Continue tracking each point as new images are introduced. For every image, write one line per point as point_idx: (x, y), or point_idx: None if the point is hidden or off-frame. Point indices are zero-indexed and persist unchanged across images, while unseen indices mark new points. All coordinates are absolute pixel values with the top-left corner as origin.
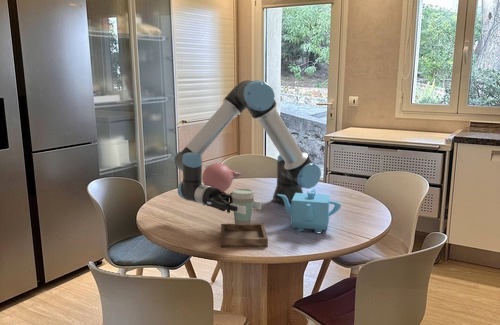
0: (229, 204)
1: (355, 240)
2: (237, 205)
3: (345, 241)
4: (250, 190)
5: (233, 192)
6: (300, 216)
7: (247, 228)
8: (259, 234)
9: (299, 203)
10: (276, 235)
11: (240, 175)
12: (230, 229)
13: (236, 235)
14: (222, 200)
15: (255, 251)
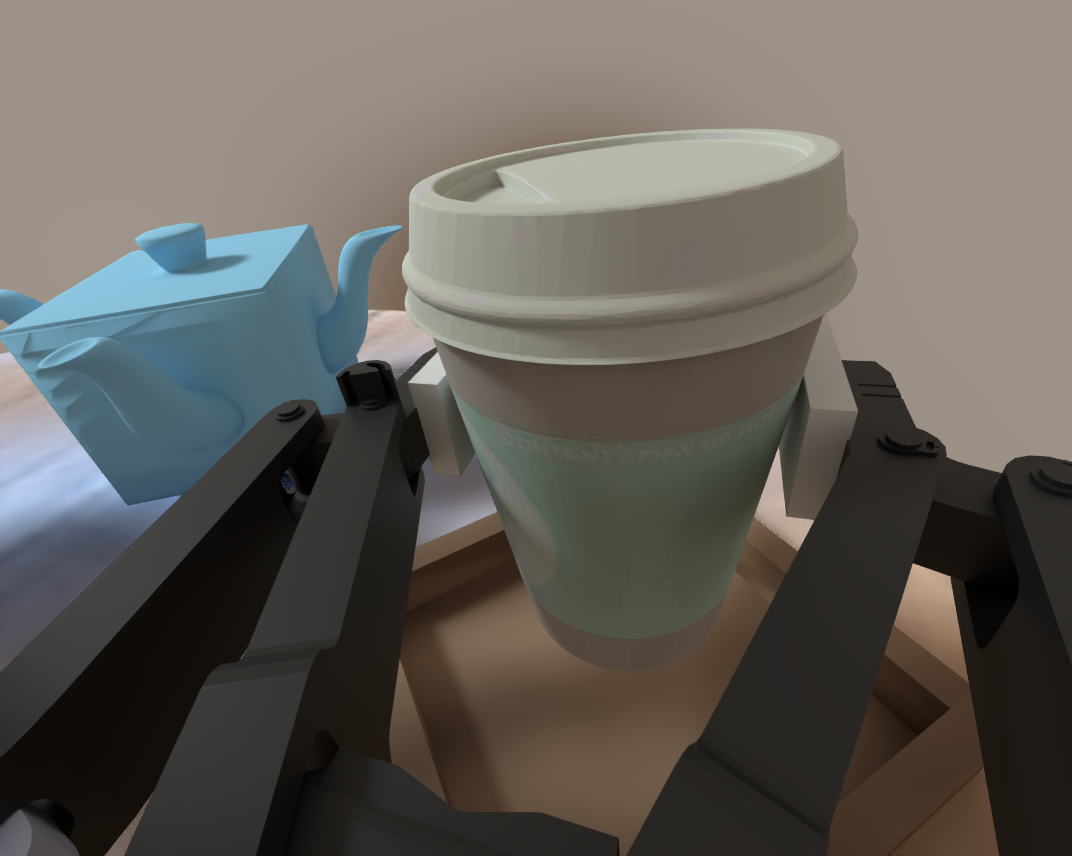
0: (901, 430)
1: (405, 324)
2: (830, 338)
3: (425, 335)
4: (476, 174)
5: (829, 176)
6: (319, 367)
7: (421, 716)
8: (500, 584)
9: (285, 287)
10: (438, 519)
11: None
12: None
13: (628, 754)
14: (846, 689)
15: (770, 507)
